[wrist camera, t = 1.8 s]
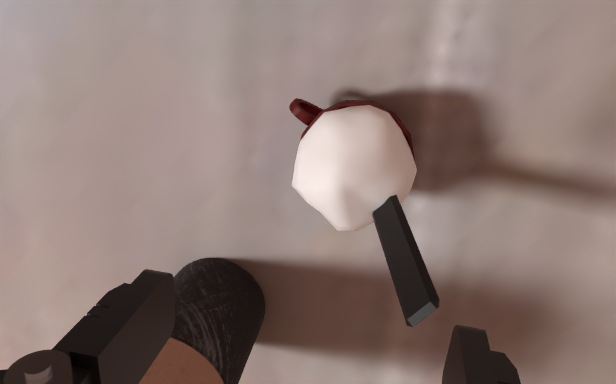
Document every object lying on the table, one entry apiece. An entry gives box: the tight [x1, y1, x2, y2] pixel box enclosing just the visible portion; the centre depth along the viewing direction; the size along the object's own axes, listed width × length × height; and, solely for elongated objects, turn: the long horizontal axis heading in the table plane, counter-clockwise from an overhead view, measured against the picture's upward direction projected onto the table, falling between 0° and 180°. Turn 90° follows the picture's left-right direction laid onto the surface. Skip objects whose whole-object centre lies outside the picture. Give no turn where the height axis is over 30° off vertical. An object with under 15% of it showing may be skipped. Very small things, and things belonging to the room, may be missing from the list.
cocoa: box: [289, 98, 439, 327], centre depth 24 cm, size 10×6×12 cm, turn 29°
